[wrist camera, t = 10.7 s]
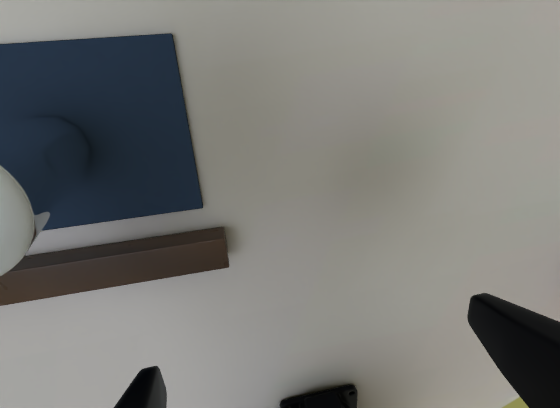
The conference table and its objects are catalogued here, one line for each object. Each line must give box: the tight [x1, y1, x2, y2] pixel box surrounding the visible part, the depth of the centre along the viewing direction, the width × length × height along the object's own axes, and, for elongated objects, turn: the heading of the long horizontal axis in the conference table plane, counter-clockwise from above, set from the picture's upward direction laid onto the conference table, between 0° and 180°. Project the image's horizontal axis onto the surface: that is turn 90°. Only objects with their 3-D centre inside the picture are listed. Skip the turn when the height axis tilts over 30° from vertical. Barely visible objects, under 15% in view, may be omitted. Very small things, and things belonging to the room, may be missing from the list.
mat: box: [0, 34, 203, 231], centre depth 17 cm, size 9×13×1 cm
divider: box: [0, 227, 229, 306], centre depth 19 cm, size 2×15×2 cm, turn 94°
